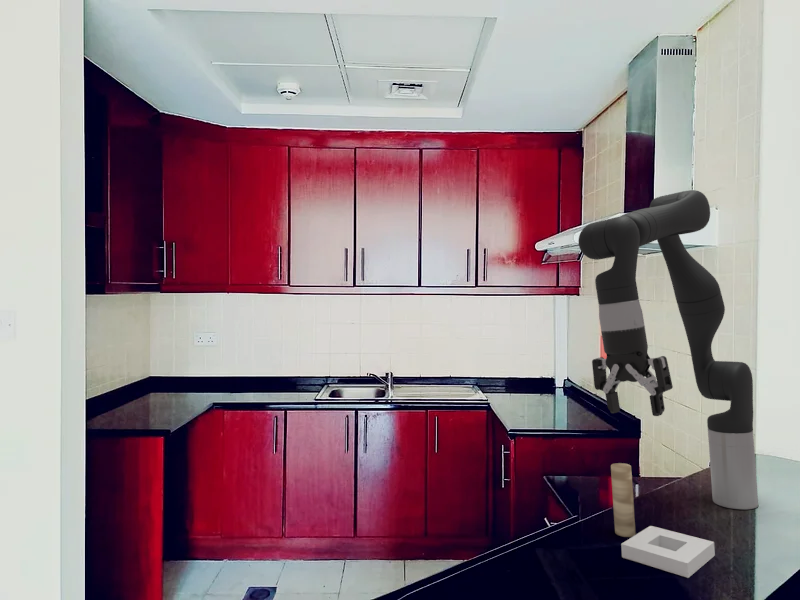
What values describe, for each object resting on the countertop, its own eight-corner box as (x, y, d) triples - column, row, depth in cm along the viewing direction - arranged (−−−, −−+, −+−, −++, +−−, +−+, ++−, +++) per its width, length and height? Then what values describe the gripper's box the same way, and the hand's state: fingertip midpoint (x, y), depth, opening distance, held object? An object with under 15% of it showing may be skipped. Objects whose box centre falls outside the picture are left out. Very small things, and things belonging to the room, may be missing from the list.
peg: (620, 527, 118) (616, 462, 118) (639, 532, 115) (634, 465, 115) (611, 533, 115) (607, 466, 116) (629, 538, 112) (625, 469, 113)
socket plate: (651, 538, 112) (650, 525, 112) (714, 555, 103) (714, 541, 103) (622, 557, 104) (621, 543, 104) (688, 577, 95) (687, 563, 95)
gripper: (670, 321, 98) (684, 411, 97) (601, 326, 109) (613, 407, 109) (647, 327, 93) (661, 421, 93) (577, 331, 105) (590, 415, 105)
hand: (635, 413), depth 101 cm, fingers open, 8 cm apart
